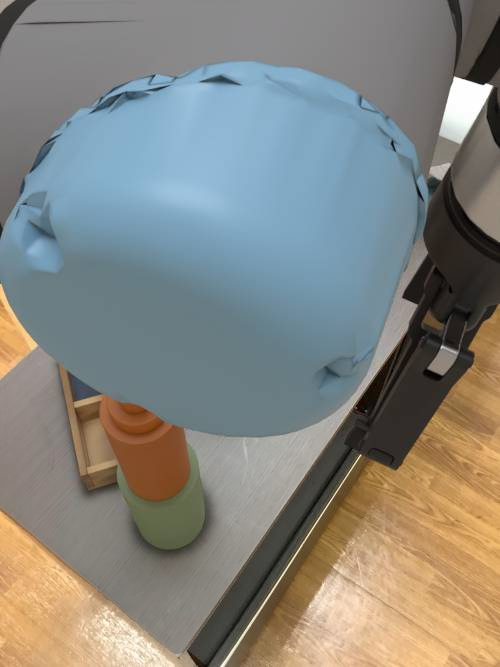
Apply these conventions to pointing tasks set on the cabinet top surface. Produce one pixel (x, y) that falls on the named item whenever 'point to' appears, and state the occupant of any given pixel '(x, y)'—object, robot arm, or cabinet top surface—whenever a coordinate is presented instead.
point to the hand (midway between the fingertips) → (392, 370)
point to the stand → (169, 510)
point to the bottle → (146, 449)
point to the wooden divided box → (88, 432)
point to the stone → (439, 171)
